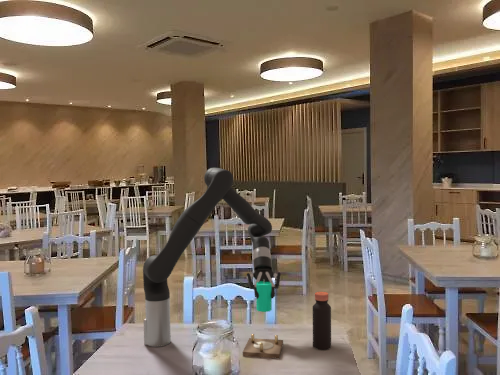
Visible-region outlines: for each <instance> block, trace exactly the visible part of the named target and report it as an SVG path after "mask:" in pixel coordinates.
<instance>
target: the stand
mask: <svg viewBox="0 0 500 375" xmlns="http://www.w3.org/2000/svg"><path fill="white" fill-rule="evenodd" d="M261 342H262V343H263V352H260V343H261ZM283 345H284V339H278V344H275V339H272V338H271V339H269V338H255V337H254V343H251V337H249V338H248V340H247V342H246V344H245V346H244V348H243V351H242V357H254V358H266V359H267V358H269V359H280V356H281V353H282V350H283Z"/></svg>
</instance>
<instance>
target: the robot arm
mask: <svg viewBox="0 0 500 375" xmlns="http://www.w3.org/2000/svg"><path fill="white" fill-rule="evenodd" d="M203 178H204V183H205V185H206V187H207V189H206V190H205V192H204V193H203V194H202V195H201V196H200V197H199V198H198V199H196V200H195V201H194V202H193V203H191V204H190V205H189V206H187V207H186V208H185V209H184V210H183V211H182V212H181V214H180V216H179V217H178V218H177V220H176V221H175V224H174V225H173V227H172V230H171V232H170V235H169V238H168V240H167V242H166V243H165V245H164V247H163V248H162V249H161V251H160V252H159V253H158V255H156V254H154V255H150V256H148V258H147V259H146V260H145V261H144V263H143V266H142V267H143V268H142V271H143V272H142V275H143V277H142V279H143V291H144V299H145V300H144V302H145V304H144V305H145V318H144V319H143V344H144V345H146V346H148V347H153V348H154V347H156V348H157V347H163V346H167V345H169V344H170V343H171V300H170V299H171V298H170V297H171V296H170V294H171V292H170V288H169V283H168V278H169V277H170V275H171V274H172V272H173V271H174V269H175V267H176V265H177V263H178V261H179V259H180V258H181V257H182V255H183V253H184V252H185V251H186V249H187V247H188V246H190V244H191V242H192V241H193V239H194V238H195V236H196V235H197V234H198V233H199V231H200V230H201V228H202V227H203V225H204V224H205V222H206V221H207V219H208V218H209V217H210V215H211V213H212V212H213V211H214V209H215V208H216V207H217V205H218V204H219V202H220V201H222V200H223V201H224V203H226V204H227V205H228V206H229V207H230V208H231V209H232V211H233V212H234V213H235V214H236V216H238V218H239V219H240V220H241V221H242V222H243V223H244V224H245V225H248V227H247V232H248V235H249V238H250V240H251V243H252V262H253V263H252V264H253V265H252V266H253V272H252V273H249V272H247V273H246V281H247V284H248V287H249V289H250V290H253V291H254V292H253V293H254V298H257V299H258V298H259V294H258V292H257V285H256V283H257V282H258V283H259V282H260V281H263V282H270V283H271V284H272V299H274V298H275V296H276V290H277V289H279V286H280V282H281V281H280V280H281V273H280V272H277V273H276V272H274V271H273V263H272V255H271V250H270V248H271V247H270V240H269V239H268V238H267V237H265V236H267V235H269V234H271V232H272V231H273V225H272V223H271V221H270V220H269V219H268V218H267V217H266V216H263V215H261V213H259V212H258V211H256V210H255V209H254V207H253V206H252V205H251V204H250V203H249V201H247V200H246V199H245V198H244V197H243V196H242V195H240V193H238V192H237V191H236V190H234V188H232V186H233V183H234V175H233V173H232V172H231V171H230V170H227V169H224V168H220V167H210V168H208V169H207V170H206V171H205V173H204V176H203ZM253 278H254V280H256V281H255V283H254V284H253V281H252V280H253ZM273 278H274V279H275V280H276V282H275V283H274V281H273Z"/></svg>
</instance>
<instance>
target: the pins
mask: <svg viewBox="0 0 500 375" xmlns="http://www.w3.org/2000/svg"><path fill="white" fill-rule="evenodd" d="M250 335H251V336H250V338H251V343H254V338H255V333H251V334H250ZM274 340H275V344H278V340H279V335H278V334H275V335H274ZM260 352H263V343H262V342H261V343H260Z"/></svg>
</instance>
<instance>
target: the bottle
mask: <svg viewBox="0 0 500 375" xmlns="http://www.w3.org/2000/svg"><path fill="white" fill-rule="evenodd" d="M314 301H315V303H314V304H312V347H313V348H314V349H316V350H319V351H327V350H329V349H331V347H332V307H331V305H330V304H329V303H328V302H329V293H328V292H325V291H317V292H315V293H314Z"/></svg>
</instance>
